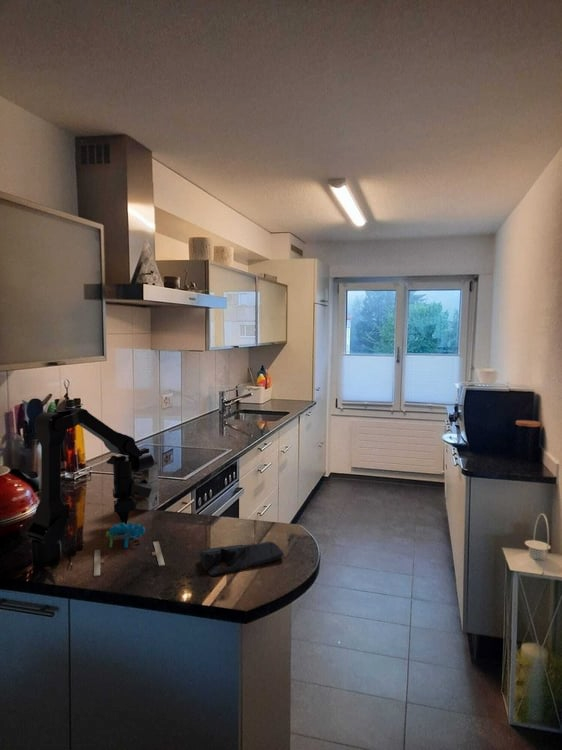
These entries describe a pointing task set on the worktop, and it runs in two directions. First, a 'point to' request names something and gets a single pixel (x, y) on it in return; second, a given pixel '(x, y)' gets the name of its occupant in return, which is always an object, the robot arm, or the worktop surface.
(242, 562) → the dark grey stepped bar
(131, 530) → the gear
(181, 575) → the worktop surface
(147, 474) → the coffee box
